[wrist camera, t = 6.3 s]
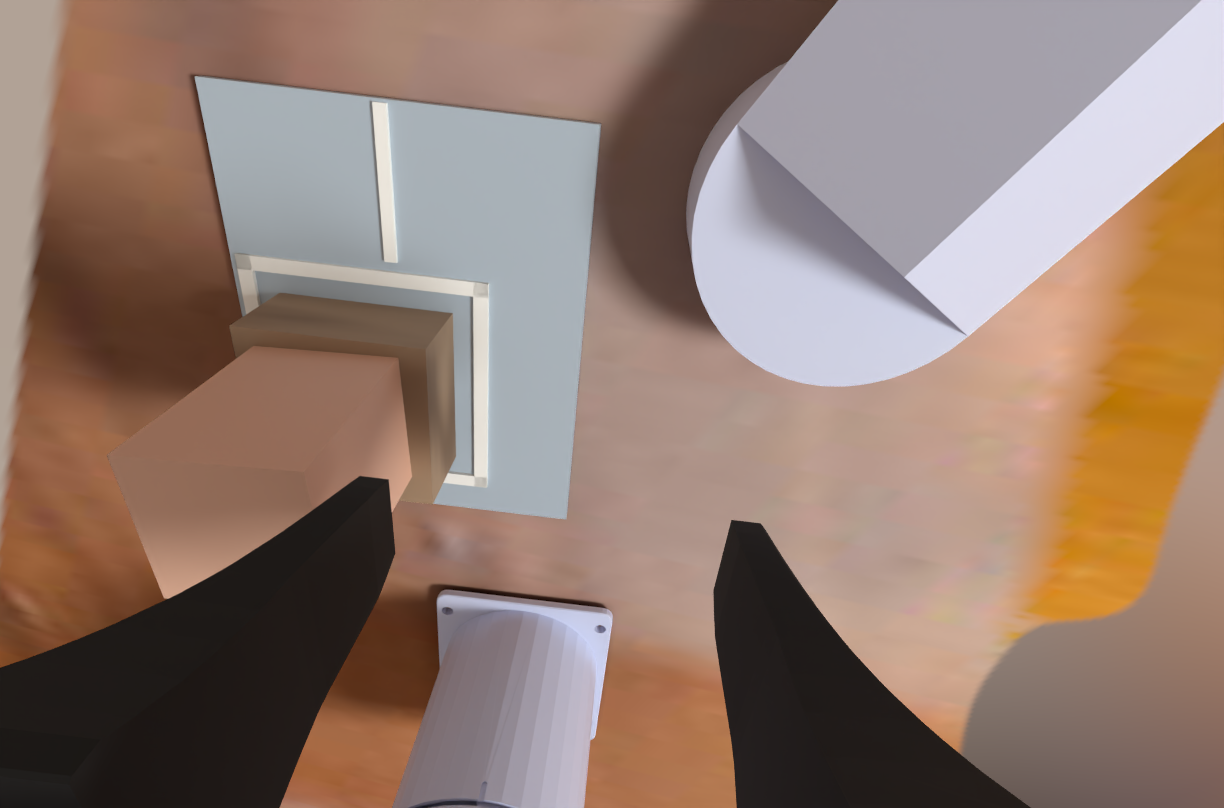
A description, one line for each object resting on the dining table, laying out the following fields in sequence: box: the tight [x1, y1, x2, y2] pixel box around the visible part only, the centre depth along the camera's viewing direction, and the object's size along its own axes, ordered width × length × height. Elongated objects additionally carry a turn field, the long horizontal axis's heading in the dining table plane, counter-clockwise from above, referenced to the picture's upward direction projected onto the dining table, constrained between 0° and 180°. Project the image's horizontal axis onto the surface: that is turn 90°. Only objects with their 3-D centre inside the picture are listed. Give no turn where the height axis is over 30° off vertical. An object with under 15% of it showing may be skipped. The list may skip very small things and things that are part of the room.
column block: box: [107, 346, 412, 599], centre depth 18 cm, size 4×4×6 cm
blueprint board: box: [195, 76, 601, 519], centre depth 22 cm, size 15×12×1 cm
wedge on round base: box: [686, 0, 1224, 386], centre depth 16 cm, size 9×7×13 cm
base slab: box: [229, 293, 456, 505], centre depth 22 cm, size 6×6×3 cm
